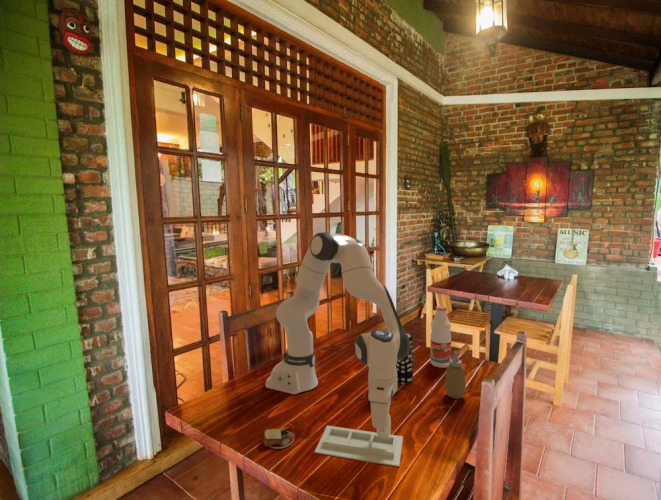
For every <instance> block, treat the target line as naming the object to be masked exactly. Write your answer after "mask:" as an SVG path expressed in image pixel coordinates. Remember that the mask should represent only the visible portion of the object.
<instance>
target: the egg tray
mask: <svg viewBox="0 0 661 500" xmlns="http://www.w3.org/2000/svg"><path fill="white" fill-rule="evenodd" d="M403 439H404V436H403V435H396V434H391V435H390V436H388V437H381V436H379V435H378V434H377V431H376V432H374V431H368V430H362V429H361V430H360V429H355V428H354V429H353V428H346V427H339V426H333V425H326V427H325V428H324V431H323V433H322V435H321V437H320V439H319V442H318V444H317V445H316V448H315V450H314V454H321V455H325V456H332V457H337V458H338V457H339V458H343V459H350V460H356V461H361V462H366V463H367V462H369V463H374V464H379V465H385V466H386V465H387V466H392V467H398V468H399V467H400V464H401V457H402V450H403V443H404V442H403V441H404V440H403Z"/></svg>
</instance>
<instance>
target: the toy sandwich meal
mask: <svg viewBox="0 0 661 500" xmlns="http://www.w3.org/2000/svg"><path fill="white" fill-rule="evenodd" d="M289 428H290V426H286V427H281V428H270V429H269V428H268V429H266V430H265V431H264V433H263V434H264V435H263V438H262V443H263V445H264V446H265V447H266V448H267V447H269V448H270V449H274V450H281V449H286V448H288V447H290V446H291V445H292V444H293V443H294V440H295V433H294V432H291V431H289Z"/></svg>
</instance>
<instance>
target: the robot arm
mask: <svg viewBox="0 0 661 500" xmlns="http://www.w3.org/2000/svg"><path fill="white" fill-rule="evenodd" d="M332 263H334V264H339V265H340V268H341V275H342V281H343V284H344V288H345V290H346V291H347V292H348V293H349V294H350V295H351V296H353V297H355V298H357V299H360V300H363V301H367V302H370V303H373V304H374V305H376V306H377V307H378V308H379V310H380V311H381V315H382V317H383V320H384V323H385V325H386V328H385V329H384V328H376V329H375V328H374V329H373V330H371V331H370V332H365V333H361V334H359V335H357V337H356V339H355V340H354V345H353V347H354V356H355V358H356V359H357V360H358V361H359V362H360V363H362V364H363V365H364V366H368V376H367V377H368V396H367V397H368V398H367V399H368V401H369V402H370V413H371V414H370V415H371V416H370V417H371V423H372V427H373V428H374V429H377V428H378V429H379V431H380V432H385V428H386V422H387V418H388V413H389V412H390V407H391V402H392V399H393V397H394V395H395V393H397V391H398V383H397V370H396V364H397V360H403V359H404V358H405V357H406V356H407V355H408V353H409V351H410V348H411V346H410V341H409V338H408V336H407V334H406V333H407V332H406V330H405V329H404V327H403V324H402V322H401V320H400V317H399V315H398V312H397V309H396V307H395V304H394V302H393V299H392V297H391V295H390V293H389V292H390V291H389V290H388V288H387V286H386V285H384V284H383V283H381V282H380V280H378V278H377V276H376V275H375V272H374V268H373V264H372V260H371V256H370V254H369V251H368V249H367V246H365V244H363V243H362V241H361V240H360V239H358V238H356V237H354V236H350V235H346V234H343V233H331V232H326V231H323V232H321V231H320V232H317V233H315V234H314V235H313V237H312V238H311V241H310V244H309V248H308V249H307V251H306V252H305V255H304V257H303V259H302V262H301V264H300V267H299V270H298V272H297V275H296V278H295V282H296V290H295V293H294V294H293V295H292V296H291V297H289V298H286V299H284V300H283V301H282V302H281V303H280V304H279V305H278V307H277V309H276V312H275V316H276V319H277V321H278V322H279V324H281V325H282V326H283V328H284V332H285V336H286V347H287V348H286V349H285V352H284V353H282V355H281V359H282V360H281V361H280V362H279V363H277V364H276V365H275V366H274V367H273V368H272V370H271V373H270V376H268V377H267V379H266V381H265V388H267V389H271V390H275V391H279V392H283V393H288V394H290V395H291V394H292V395H297V394H299V393H302V392H307V391H310V390H312V389H314V388H316V387H317V386H318V385H319V380H318V378H317V374H316V373H317V372H316V368H315V363H316V357H315V356H316V355H315V350H314V334H313V332H312V331H311V330H310V328H309V325H308V318H309V317H311V316H313V315H314V314H315V313H316V312H317V310H318V309H319V305H320V295H321V290H322V287H323V284H324V281H325V280H326V277H327V273H328V272H329V269H330V267H331V264H332ZM389 414H390V413H389Z"/></svg>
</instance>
